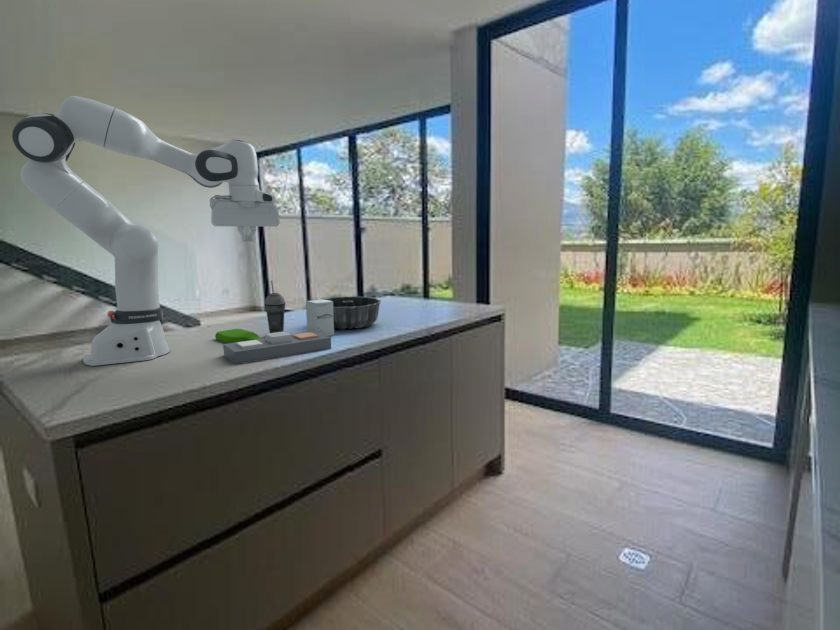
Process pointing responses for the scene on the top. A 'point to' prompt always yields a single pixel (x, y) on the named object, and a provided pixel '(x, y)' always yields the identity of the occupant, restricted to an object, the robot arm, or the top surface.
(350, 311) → the bundt pan
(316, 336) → the terracotta key
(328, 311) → the supplement box
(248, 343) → the ivory key
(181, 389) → the top surface
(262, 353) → the keypad
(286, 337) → the grey key
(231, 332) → the green rounded slab
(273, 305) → the beverage cup
